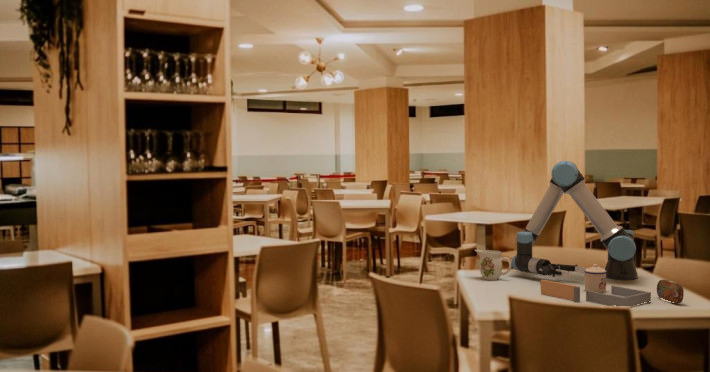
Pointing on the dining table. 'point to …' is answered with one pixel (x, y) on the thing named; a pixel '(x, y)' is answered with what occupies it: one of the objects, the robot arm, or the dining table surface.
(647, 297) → the grey tray
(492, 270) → the pitcher
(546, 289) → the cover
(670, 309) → the dining table surface
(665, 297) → the tin
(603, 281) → the teacup with lid
